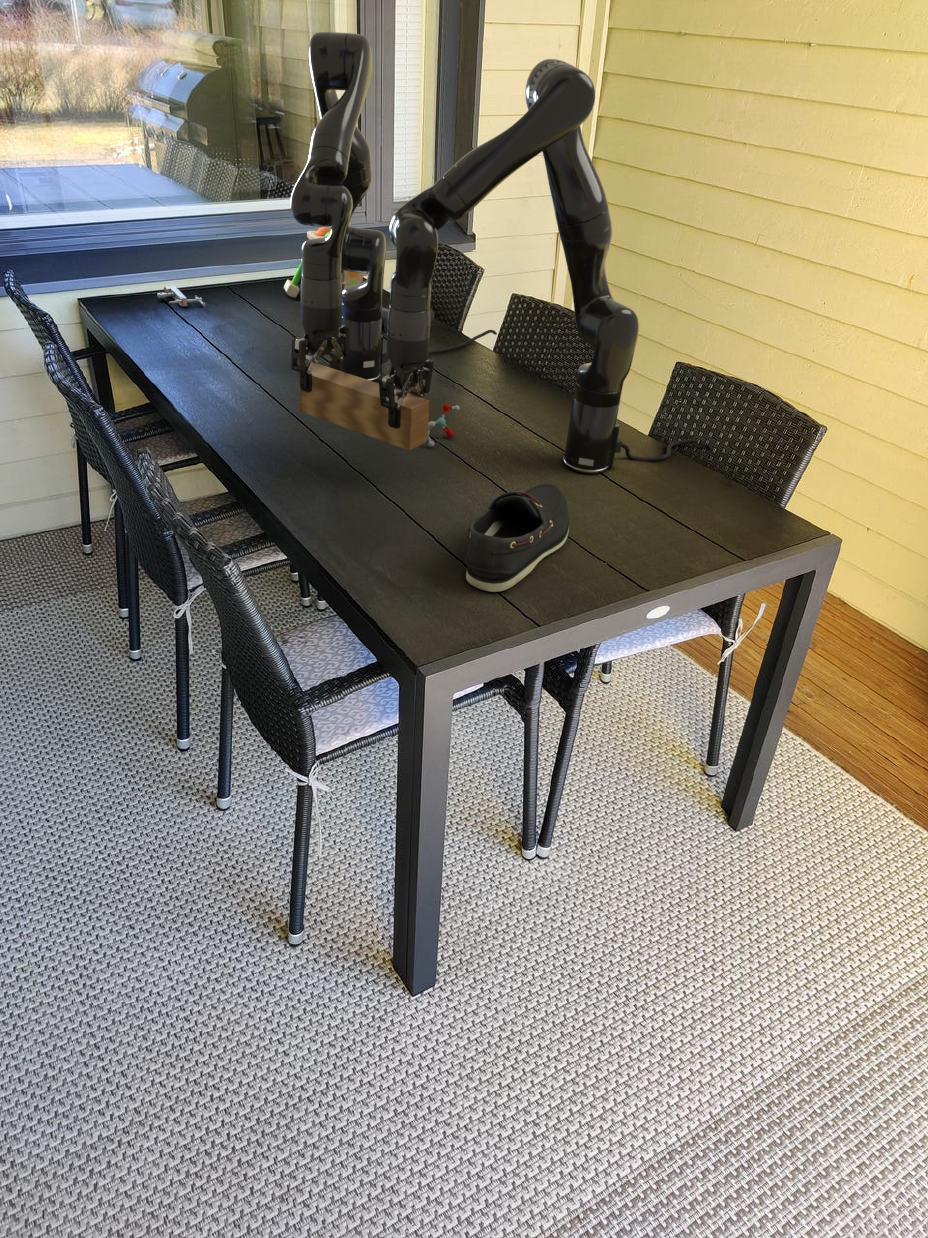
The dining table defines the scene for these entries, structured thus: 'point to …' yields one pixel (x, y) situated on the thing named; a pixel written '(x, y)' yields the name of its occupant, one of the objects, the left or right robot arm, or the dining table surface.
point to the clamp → (178, 296)
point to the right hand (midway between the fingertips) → (404, 421)
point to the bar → (363, 408)
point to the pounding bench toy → (346, 276)
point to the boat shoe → (515, 536)
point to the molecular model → (442, 423)
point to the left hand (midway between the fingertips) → (321, 385)
